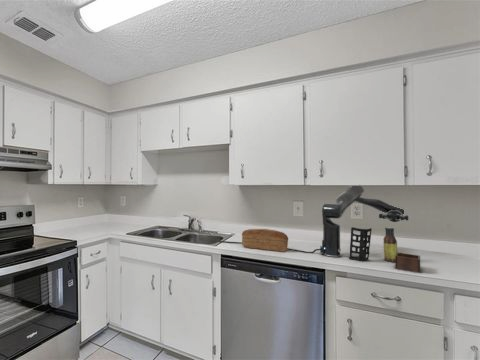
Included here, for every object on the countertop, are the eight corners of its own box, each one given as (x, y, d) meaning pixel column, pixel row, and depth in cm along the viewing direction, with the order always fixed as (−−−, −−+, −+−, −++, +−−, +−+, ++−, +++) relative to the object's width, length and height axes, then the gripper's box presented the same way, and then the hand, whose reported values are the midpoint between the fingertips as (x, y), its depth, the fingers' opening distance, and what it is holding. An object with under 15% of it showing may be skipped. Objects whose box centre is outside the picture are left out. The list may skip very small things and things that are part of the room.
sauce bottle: (400, 262, 155) (399, 228, 155) (388, 262, 156) (387, 228, 156) (392, 259, 162) (392, 227, 162) (381, 259, 163) (380, 226, 163)
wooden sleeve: (395, 268, 144) (395, 255, 144) (396, 264, 152) (396, 252, 152) (420, 273, 137) (420, 259, 138) (420, 268, 145) (420, 255, 145)
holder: (363, 257, 165) (365, 226, 163) (373, 262, 158) (376, 229, 156) (346, 257, 165) (348, 226, 163) (355, 262, 157) (357, 229, 155)
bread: (243, 244, 200) (243, 226, 200) (288, 249, 185) (288, 230, 185) (240, 247, 189) (240, 228, 190) (287, 253, 175) (287, 232, 175)
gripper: (381, 209, 183) (377, 211, 172) (409, 211, 173) (407, 212, 161) (381, 220, 183) (377, 222, 172) (409, 222, 173) (407, 225, 161)
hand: (392, 217), depth 167 cm, fingers open, 8 cm apart
